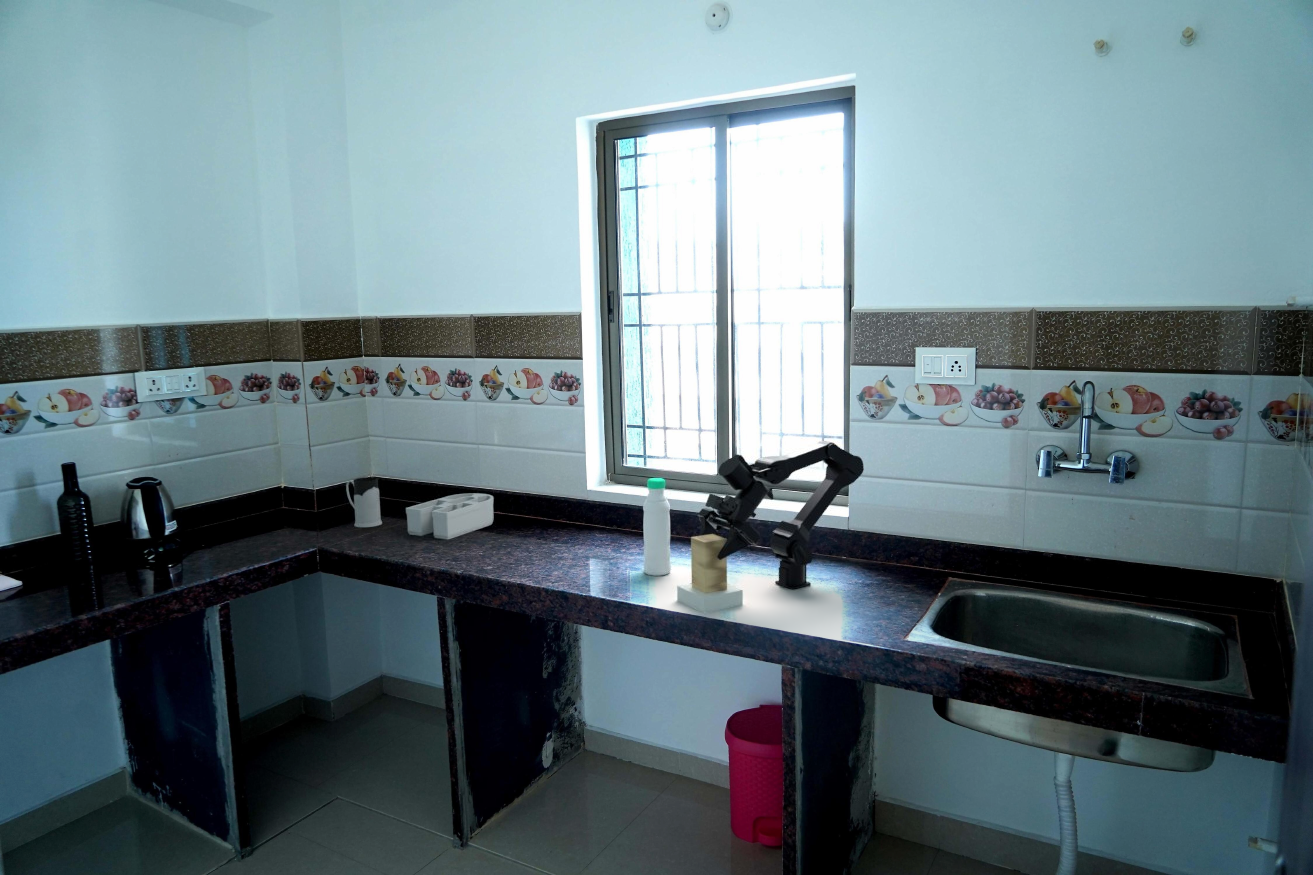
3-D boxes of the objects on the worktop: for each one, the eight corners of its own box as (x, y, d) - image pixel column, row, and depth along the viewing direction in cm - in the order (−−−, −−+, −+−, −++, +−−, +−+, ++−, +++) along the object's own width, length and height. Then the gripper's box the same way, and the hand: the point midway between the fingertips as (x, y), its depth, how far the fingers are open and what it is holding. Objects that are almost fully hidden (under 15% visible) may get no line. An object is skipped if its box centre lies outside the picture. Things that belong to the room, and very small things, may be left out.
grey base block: (715, 594, 215) (714, 578, 214) (742, 606, 205) (742, 589, 205) (677, 602, 209) (677, 585, 208) (704, 615, 200) (703, 598, 199)
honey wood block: (713, 582, 210) (712, 533, 209) (727, 589, 205) (726, 538, 204) (691, 586, 208) (691, 537, 206) (705, 593, 202) (704, 542, 201)
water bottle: (672, 575, 228) (672, 480, 225) (646, 577, 227) (644, 482, 224) (668, 567, 235) (667, 476, 232) (642, 569, 234) (640, 477, 231)
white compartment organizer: (406, 535, 275) (405, 508, 274) (465, 516, 300) (464, 491, 298) (448, 540, 267) (446, 513, 266) (504, 521, 292) (503, 495, 291)
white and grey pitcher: (366, 528, 283) (363, 482, 281) (337, 523, 291) (335, 478, 289) (387, 522, 290) (385, 478, 288) (359, 517, 298) (357, 474, 296)
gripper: (704, 475, 213) (665, 525, 210) (749, 487, 197) (709, 542, 194) (730, 503, 218) (693, 552, 215) (777, 517, 202) (738, 571, 199)
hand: (707, 554), depth 205 cm, fingers open, 9 cm apart
